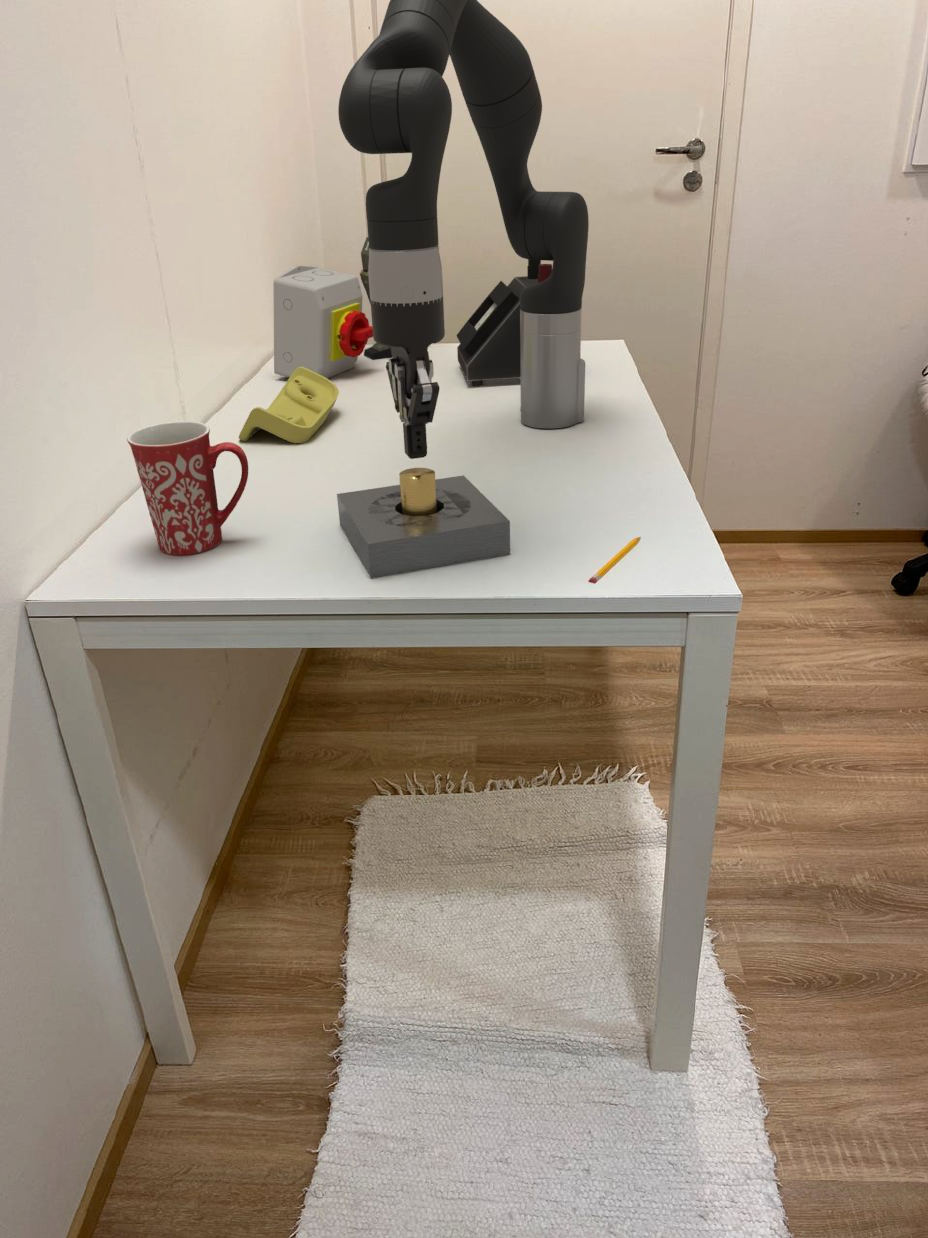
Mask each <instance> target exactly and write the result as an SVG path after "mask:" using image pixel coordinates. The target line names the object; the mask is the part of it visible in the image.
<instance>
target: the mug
mask: <svg viewBox="0 0 928 1238" xmlns="http://www.w3.org/2000/svg"><path fill="white" fill-rule="evenodd" d="M210 433H211V429H210V427H209V425H207V424H205V423H203V422H199V421H191V420H182V421H181V420H180V421H179V420H178V421H167V422H161V423H157V424H152V425H151V424H150V425H148V426H147V425H146V426H144V427H142V428H139V429H136V430H134V431H132V432H131V433H129V434H128V435H127V437H126V441H127V443H128V444H129V446H130V449H131V453H132V456H133V459H134V463H135V466H136V470H137V471H136V472H137V474H138V477H139V481H140V484H141V487H142V491H143V496H144V498H145V502H146V505H147V510H148V513H149V517H150V519H151V523H152V528H153V530H154V535H155V538H156V542H157V545H158V548H159V550H160V551H161V552H162V553H164V554H167V555H172V556H187V555H188V556H189V555H195V554H199V553H203V552H206V551H209V550H211V549H213V548H215V547H216V546H218V545H219V544H220V543H221V541H222V539H223V534H222V533H223V532H222V525H224V523H225V522H226V521H227V519H228V518H229V516H230V515H231V514H232V513H233V511H234V509H235V508H236V507H237V504H238V502H239V501H240V499H241V498H242V495H243V494H244V491H245V489H246V486H247V482H248V480H249V479H248V478H249V462H248V458H247V455H246V454H247V453H245V450H243V447H241V446H240V445H238V444H237V443H234V442H232V441H231V442H230V441H226V442H225V441H224V442H220V443H217V444H215V445H212V446H211V443H210ZM225 452H230V453H232V454H235V456H236V457H237V458H238V460H239V463H240V466H241V477H240V480H239V483H238V486H237V488H236V491H234V493H233V495H232V497H231V499H230V500H229V502H228V503H227V505H226V506H225V507H224V508H223V509H219V505H218V498H217V497H218V496H217V490H216V482H215V474H214V469H215V468H216V467H217V466H216V465H217V461H218V457H220V455H221V454H222V453H225Z"/></svg>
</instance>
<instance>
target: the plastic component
mask: <svg viewBox="0 0 928 1238" xmlns="http://www.w3.org/2000/svg"><path fill="white" fill-rule="evenodd" d="M339 391H340V390H339V389H338V387H337V385H336V384H335V383H334V382H332V381H331V380H330V379H329V378H328V379H327V378H325V377H323V376H322V375H320V374H317V373H315V372H313V371H311V370H309V369H307V368H305V367H298V368H297V369H296V370H294V372H293V373H292V375H291V376H290V377H288V380H287V381H286V382H285V384H284V386H282V388H281V390H280V391H279V392H278V394H277V395H276V397H275V398H274V400H273V401H272V403H271V404H270V405H269V407H267V408H266V409H265V408H263V407H261V406H256V407H254V408H253V409H252V410H251V411H250V413H249V414H248V417H247V419H246V420H245V423H244V424H243V427H242V428H241V431H240V432H239V434H238V439H239V440H240V441H243V442H246V441H248V440H249V439H250V438H251V437H253V436H254V435H255V433H257V431H258V430H259V429H261V430H264V431H266V432H268V433H269V434H270V433H271V434H272V435H274V436H276V437H279V438H281V439H283V440H286V441H287V442H289V443H291V444H296V443H300V444H304V443H307V442H306V441H307V440H308V441H309V440H310V439H311V438H312V437H313V435H314V434H315V433H316V432H317V430H319V428H320V427H321V426H322V425H323V424H324V422H325V421H327V419H328V415H329V413H330V411H332V410H333V408H334V406H335V403H336V401H337V399H338V397H339V395H340V394H339V393H340V392H339ZM303 442H304V443H303Z"/></svg>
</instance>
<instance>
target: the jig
mask: <svg viewBox="0 0 928 1238" xmlns="http://www.w3.org/2000/svg"><path fill="white" fill-rule="evenodd" d="M435 484H436V502H437V513H435V514H431V515H428V516H407V515H402V502H401V489H400V484H396V485H387V486H383V487H382V486H381V487H377V488H376V487H375V488H370V489H361V490H355V491H347V492H341V493H340V492H339V493H336V497H337V498H336V499H337V507H338V508H337V509H338V516H339V517H338V518H339V525H340V527H341V529H342V530H343V533H344V534H345V536H346V538H347V539H348V542H349V543H350V545H351V546H352V548H353V550H354V552H355V553H356V555H357V557H358V558H359V560H360V562H361V564H362V565H363V567H364V569H365V570H366V573H367V574H368V576H369V577H370V579H375V578H380V577H381V578H382V577H386V576H393V575H398V574H403V573H410V572H416V571H420V570H426V569H427V570H428V569H433V568H434V569H435V568H439V567H443V566H444V567H445V566H450V565H456V564H461V563H467V562H468V563H469V562H473V561H478V560H485V559H490V558H491V559H492V558H496V557H497V558H498V557H503V556H508V555H511V520H510V519H509V518H507V517H506V516H505V515H504V514H503V512H502V511H500V510H499V509H498V508H497V507H496V506H495V505H494V504H493V502H491V501H490V500H489V499H488V498H487V497H486V496H485V495H484V494H483V493H482V492H481V491H480V490H479V489H478V488H477V487H476V486H475V485H474V484H473V483H472V482H471V481H470V480H469V479H468V478H467V477H466V476H465V475H456V476H452V477H451V476H450V477H444V478H437V479H436V478H435Z"/></svg>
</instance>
